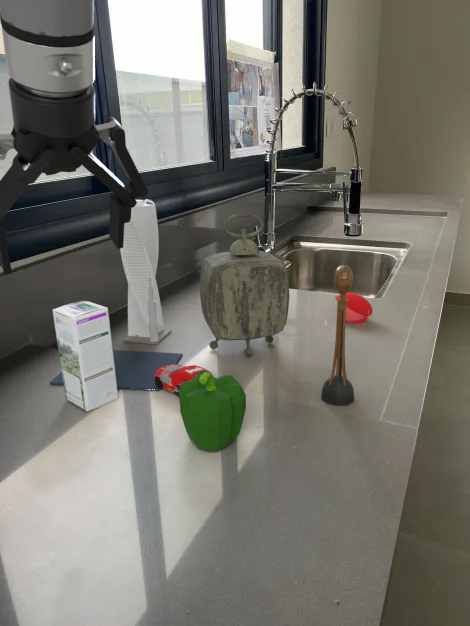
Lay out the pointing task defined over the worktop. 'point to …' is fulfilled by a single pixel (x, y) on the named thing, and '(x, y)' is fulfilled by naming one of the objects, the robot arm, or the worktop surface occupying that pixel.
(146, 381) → the mat
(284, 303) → the tabletop clock
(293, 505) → the worktop surface
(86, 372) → the syrup box
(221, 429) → the bell pepper
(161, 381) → the race car
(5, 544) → the worktop surface
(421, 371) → the worktop surface
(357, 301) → the cap
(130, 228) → the skyscraper
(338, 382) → the wooden tabletop sculpture
